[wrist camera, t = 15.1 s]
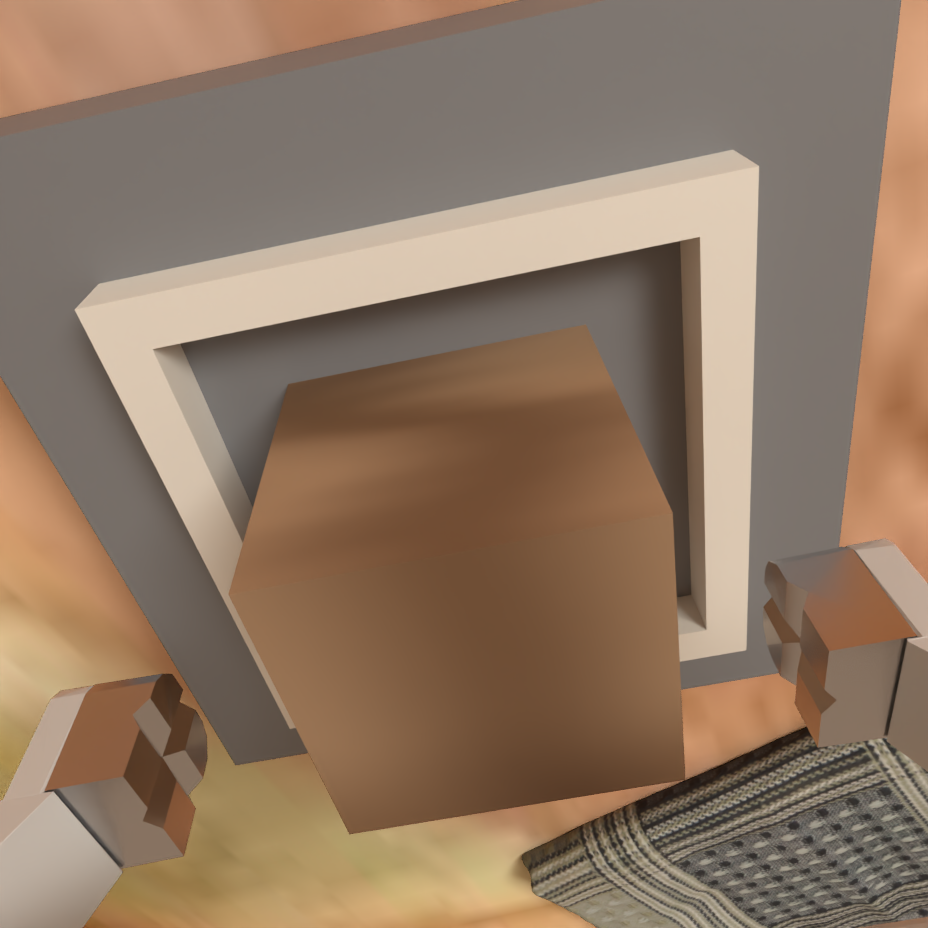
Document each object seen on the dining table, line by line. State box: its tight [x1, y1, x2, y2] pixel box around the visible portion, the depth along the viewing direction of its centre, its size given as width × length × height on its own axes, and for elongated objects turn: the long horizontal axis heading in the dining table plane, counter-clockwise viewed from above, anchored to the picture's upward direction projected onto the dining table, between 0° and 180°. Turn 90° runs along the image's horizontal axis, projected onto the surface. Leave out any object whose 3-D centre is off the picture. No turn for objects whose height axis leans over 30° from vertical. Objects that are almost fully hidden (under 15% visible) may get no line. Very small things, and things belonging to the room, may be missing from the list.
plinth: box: [0, 0, 901, 765], centre depth 15 cm, size 14×14×4 cm
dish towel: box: [522, 727, 928, 928], centre depth 28 cm, size 19×18×3 cm
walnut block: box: [228, 325, 685, 834], centre depth 12 cm, size 5×5×5 cm
